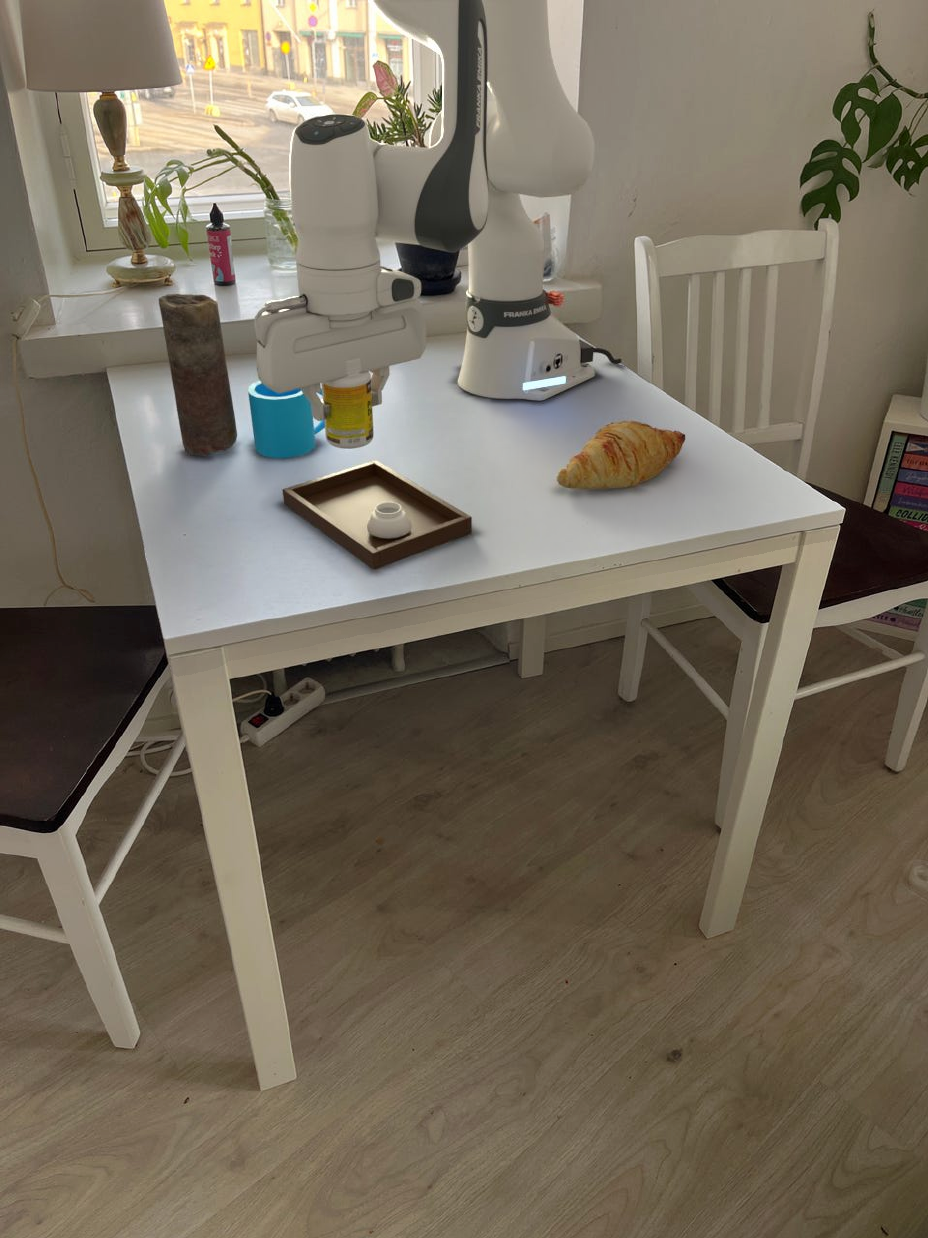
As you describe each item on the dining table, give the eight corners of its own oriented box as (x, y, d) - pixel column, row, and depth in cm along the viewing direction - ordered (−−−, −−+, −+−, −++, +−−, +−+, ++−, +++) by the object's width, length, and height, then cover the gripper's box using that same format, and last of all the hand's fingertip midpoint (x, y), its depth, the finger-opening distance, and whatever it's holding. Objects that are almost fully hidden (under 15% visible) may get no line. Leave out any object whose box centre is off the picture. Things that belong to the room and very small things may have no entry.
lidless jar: (407, 518, 113) (364, 522, 112) (406, 495, 111) (363, 500, 110) (414, 538, 109) (370, 543, 108) (414, 515, 107) (369, 520, 106)
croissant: (571, 526, 120) (595, 486, 113) (527, 467, 123) (548, 424, 116) (690, 479, 130) (719, 440, 123) (647, 425, 133) (672, 384, 127)
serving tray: (376, 474, 124) (376, 459, 123) (471, 532, 111) (472, 516, 110) (283, 504, 117) (282, 488, 116) (374, 570, 104) (372, 553, 103)
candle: (188, 435, 134) (163, 289, 123) (241, 434, 135) (221, 288, 124) (179, 458, 128) (152, 306, 117) (235, 457, 128) (214, 305, 117)
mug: (273, 463, 127) (266, 404, 122) (244, 443, 132) (236, 385, 128) (350, 441, 133) (346, 383, 128) (320, 422, 138) (315, 367, 134)
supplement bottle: (377, 448, 111) (373, 361, 105) (329, 452, 110) (322, 365, 104) (369, 429, 115) (365, 344, 110) (323, 433, 114) (316, 348, 108)
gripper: (267, 312, 95) (281, 442, 103) (433, 279, 106) (434, 399, 114) (238, 297, 99) (253, 424, 107) (400, 267, 110) (403, 384, 118)
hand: (348, 411), depth 111 cm, fingers closed on supplement bottle, 5 cm apart
